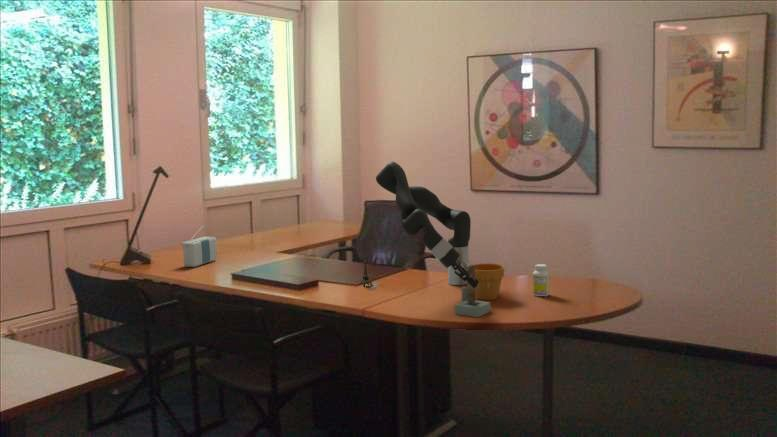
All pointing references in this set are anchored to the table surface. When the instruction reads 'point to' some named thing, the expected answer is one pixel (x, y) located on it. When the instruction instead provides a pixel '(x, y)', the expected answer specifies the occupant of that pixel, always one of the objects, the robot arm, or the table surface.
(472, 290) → the walnut peg
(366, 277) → the eiffel tower figurine
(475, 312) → the hole block
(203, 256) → the stereo radio cassette player
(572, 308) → the table surface
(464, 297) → the short grey peg
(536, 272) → the supplement bottle
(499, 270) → the flower pot
